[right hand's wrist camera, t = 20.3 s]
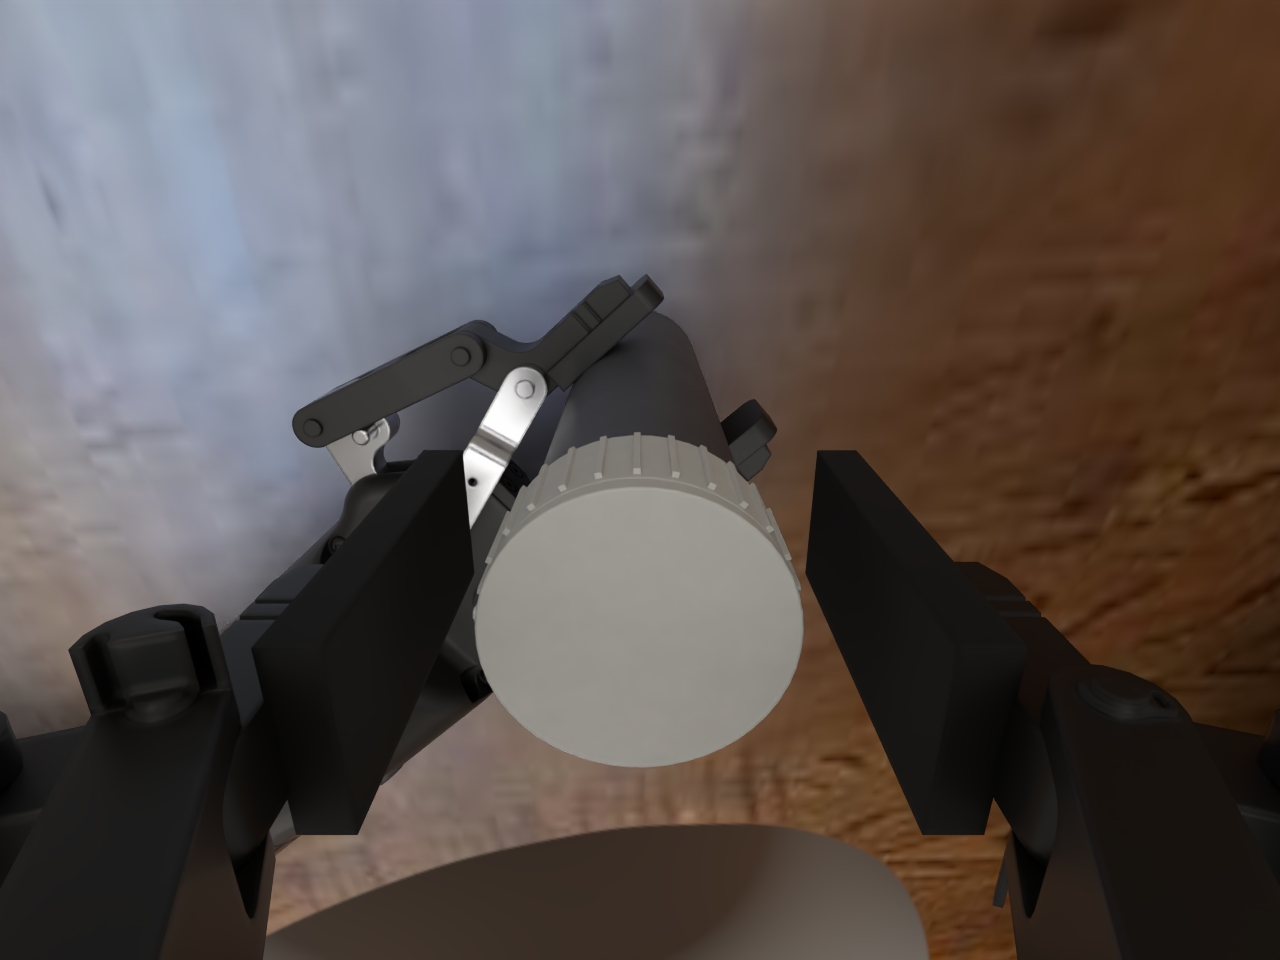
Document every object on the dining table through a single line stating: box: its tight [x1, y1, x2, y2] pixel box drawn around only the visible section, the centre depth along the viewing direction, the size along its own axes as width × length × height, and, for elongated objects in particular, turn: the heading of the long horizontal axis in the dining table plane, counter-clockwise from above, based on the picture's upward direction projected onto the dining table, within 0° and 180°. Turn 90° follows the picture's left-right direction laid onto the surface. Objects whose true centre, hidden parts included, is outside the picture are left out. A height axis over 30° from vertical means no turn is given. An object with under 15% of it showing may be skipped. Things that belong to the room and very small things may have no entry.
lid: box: [474, 432, 804, 767], centre depth 11 cm, size 5×5×2 cm
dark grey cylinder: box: [543, 312, 738, 472], centre depth 19 cm, size 4×4×17 cm
